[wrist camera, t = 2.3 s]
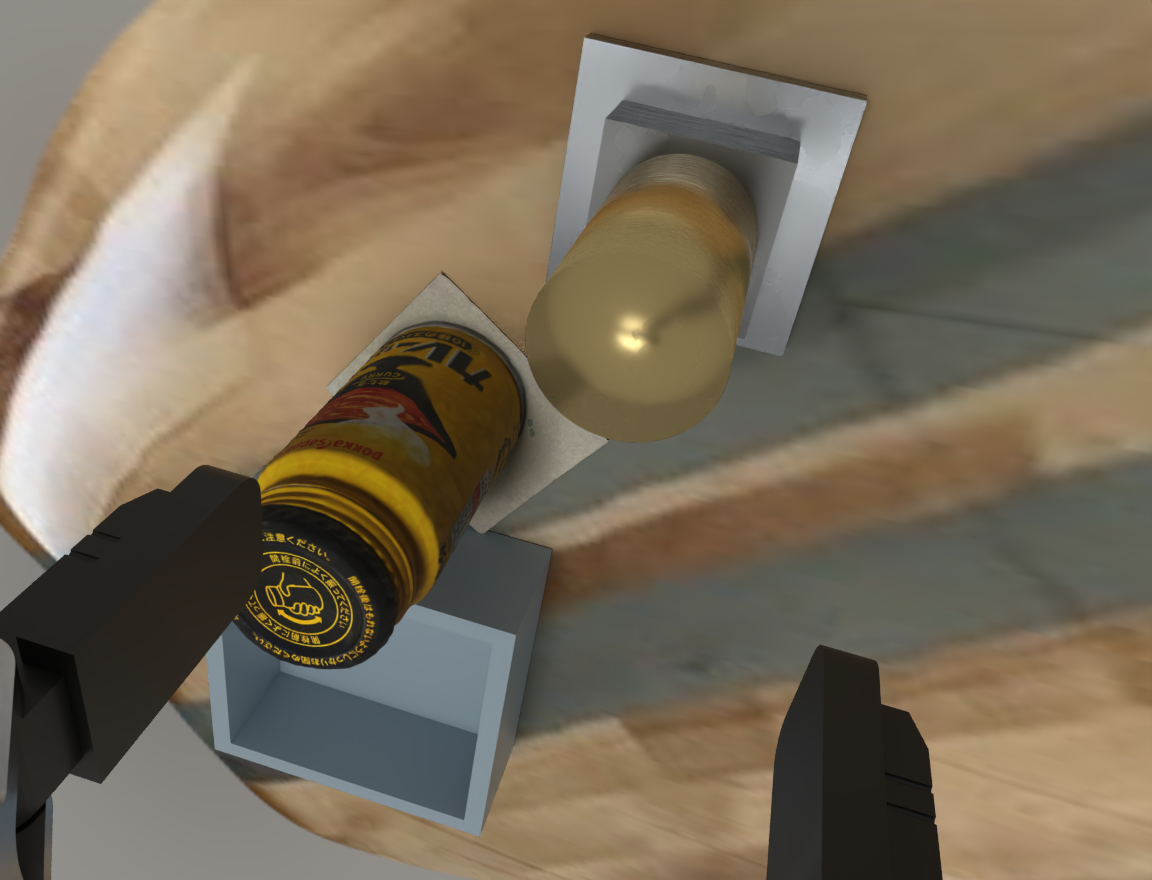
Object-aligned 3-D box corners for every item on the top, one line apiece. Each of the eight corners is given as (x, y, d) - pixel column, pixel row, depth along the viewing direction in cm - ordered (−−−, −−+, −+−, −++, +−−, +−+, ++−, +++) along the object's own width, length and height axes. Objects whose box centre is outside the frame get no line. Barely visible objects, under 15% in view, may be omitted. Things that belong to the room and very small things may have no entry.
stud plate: (590, 33, 26) (584, 37, 26) (866, 95, 25) (866, 101, 25) (550, 285, 31) (543, 295, 30) (783, 346, 30) (782, 356, 29)
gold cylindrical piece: (622, 99, 26) (524, 204, 18) (801, 141, 26) (783, 269, 17) (591, 266, 29) (494, 422, 21) (750, 306, 28) (715, 484, 20)
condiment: (442, 270, 31) (261, 453, 22) (609, 438, 33) (514, 677, 23) (327, 385, 35) (128, 585, 25) (483, 530, 37) (356, 769, 27)
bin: (264, 465, 38) (195, 537, 34) (552, 549, 37) (515, 635, 33) (272, 668, 45) (215, 749, 41) (513, 745, 44) (479, 836, 40)
